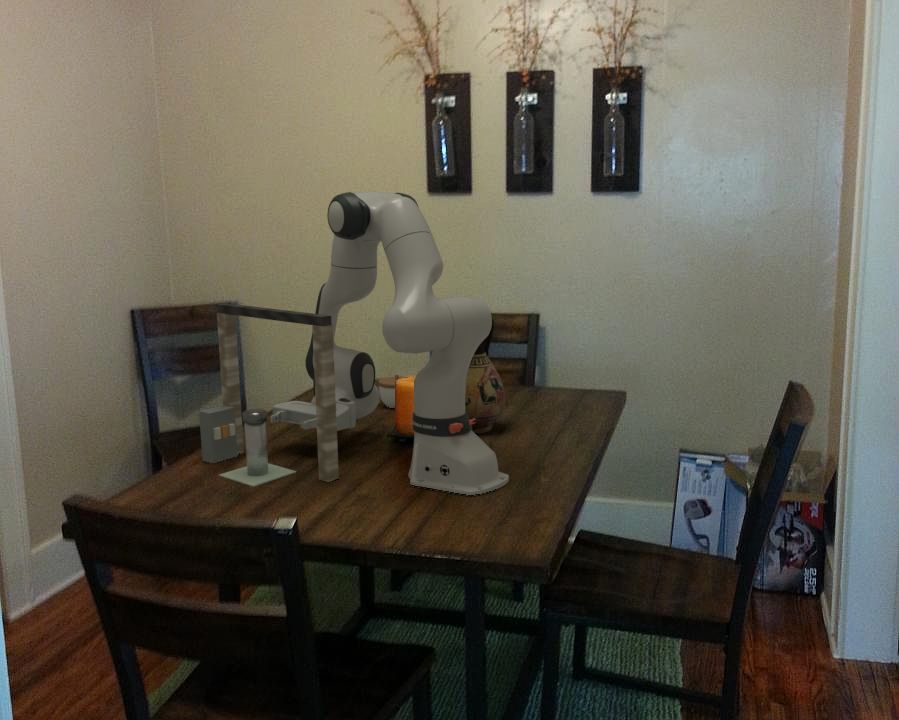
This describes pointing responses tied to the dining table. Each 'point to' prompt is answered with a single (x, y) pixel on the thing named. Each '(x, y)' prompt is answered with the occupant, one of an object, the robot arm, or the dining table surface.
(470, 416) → the ceramic jug
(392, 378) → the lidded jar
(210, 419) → the breaker box
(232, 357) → the arch
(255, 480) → the sage mat
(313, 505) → the dining table surface
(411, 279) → the robot arm
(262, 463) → the frosted spice bottle
